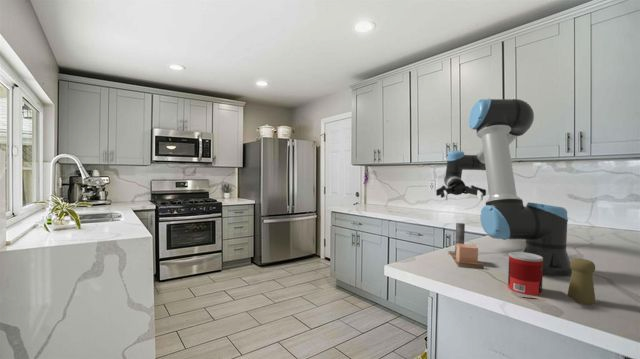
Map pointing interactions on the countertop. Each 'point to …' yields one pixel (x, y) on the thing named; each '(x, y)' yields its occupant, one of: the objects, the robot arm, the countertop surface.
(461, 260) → the terracotta block
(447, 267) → the countertop surface
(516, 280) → the canned food
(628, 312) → the countertop surface
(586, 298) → the cork
